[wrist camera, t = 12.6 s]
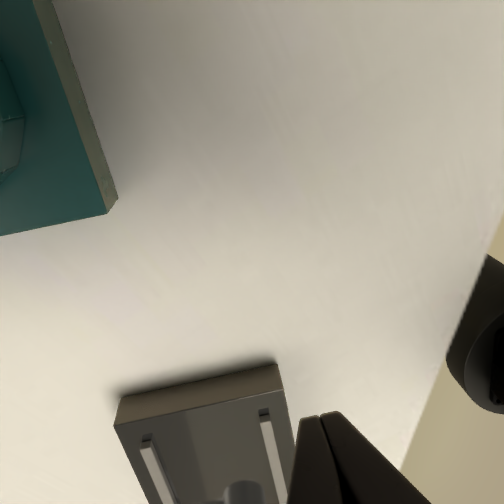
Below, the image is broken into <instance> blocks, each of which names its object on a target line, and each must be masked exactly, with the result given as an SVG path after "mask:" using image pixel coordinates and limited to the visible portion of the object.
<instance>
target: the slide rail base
mask: <svg viewBox="0 0 504 504" xmlns="http://www.w3.org/2000/svg"><path fill="white" fill-rule="evenodd" d="M113 426H114V429H115V431H116V433H117V435H118V437H119V439H120V442H121V444H122V446H123V448H124V450H125V453H126V455H127V457H128V459H129V461H130V463H131V466H132V468H133V470H134V472H135V474H136V476H137V479H138V481H139V483H140V485H141V487H142V490H143V492H144V494H145V496H146V498H147V500H148V503H149V504H286V502H287V496H288V489H289V483H290V477H291V471H292V464H293V458H294V452H295V443H294V438H293V433H292V428H291V423H290V418H289V413H288V408H287V403H286V398H285V393H284V388H283V384H282V380H281V376H280V372H279V368H278V364H274V365H270V366H265V367H260V368H256V369H251V370H247V371H242V372H237V373H233V374H228V375H224V376H219V377H215V378H210V379H205V380H201V381H196V382H192V383H187V384H182V385H178V386H173V387H169V388H164V389H159V390H155V391H150V392H146V393H141V394H137V395H132V396H127V397H123V398H121V399H120V403H119V407H118V410H117V414H116V418H115V421H114V425H113Z"/></svg>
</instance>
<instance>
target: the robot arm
mask: <svg viewBox="0 0 504 504" xmlns="http://www.w3.org/2000/svg"><path fill="white" fill-rule="evenodd" d="M489 400H490V401H491V402H492V403H493V404H494V405H495V406H500V405H504V327H502V328H499V329H498V330H497V331H496V332H495V336H494V348H493V359H492V366H491V378H490V394H489ZM286 504H431V503H430V502H429V501H428V500H427V499H426V498H425V497H424V496H423V495H422V494H421V493H420V492H419V491H418V490H417V489H416V488H415V487H414V486H413V485H412V484H411V483H410V482H409V481H408V480H407V479H406V478H405V477H404V476H403V475H402V474H401V473H400V472H399V471H398V470H397V469H396V468H395V467H394V466H393V465H392V464H391V463H390V462H389V461H388V460H387V459H386V458H385V457H384V456H383V455H382V454H381V453H380V452H379V451H378V450H377V449H376V448H375V447H374V446H373V445H372V444H371V443H370V442H369V441H368V440H367V439H366V438H365V437H364V436H363V435H362V434H361V433H360V432H359V431H358V430H357V429H356V428H355V427H354V426H353V425H352V424H351V423H350V422H349V421H348V420H347V419H346V418H345V417H344V416H343V415H342V414H341V413H340V412H338V411H333V412H328V413H324V414H321V415H320V417H319V416H317V415H314V416H309V417H305V418H301V419H300V421H299V427H298V433H297V439H296V445H295V452H294V458H293V464H292V471H291V477H290V483H289V489H288V496H287V502H286Z"/></svg>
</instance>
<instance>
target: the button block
mask: <svg viewBox="0 0 504 504" xmlns="http://www.w3.org/2000/svg"><path fill="white" fill-rule="evenodd" d="M117 200H118V195H117V193H116V190H115V187H114V184H113V181H112V178H111V175H110V172H109V169H108V166H107V163H106V160H105V157H104V154H103V151H102V148H101V145H100V142H99V139H98V136H97V134H96V131H95V128H94V125H93V122H92V119H91V116H90V113H89V110H88V107H87V104H86V101H85V98H84V95H83V92H82V89H81V86H80V83H79V80H78V77H77V74H76V72H75V69H74V66H73V63H72V60H71V57H70V54H69V51H68V48H67V45H66V42H65V39H64V36H63V33H62V30H61V27H60V24H59V21H58V18H57V15H56V13H55V10H54V7H53V4H52V1H51V0H0V236H4V235H9V234H13V233H18V232H23V231H28V230H33V229H37V228H42V227H47V226H52V225H56V224H61V223H66V222H71V221H75V220H80V219H85V218H90V217H95V216H99V215H104V214H107V213H108V212H109V211H110V209H111V208H112V206H113V205H114V204H115V202H116V201H117Z"/></svg>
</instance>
